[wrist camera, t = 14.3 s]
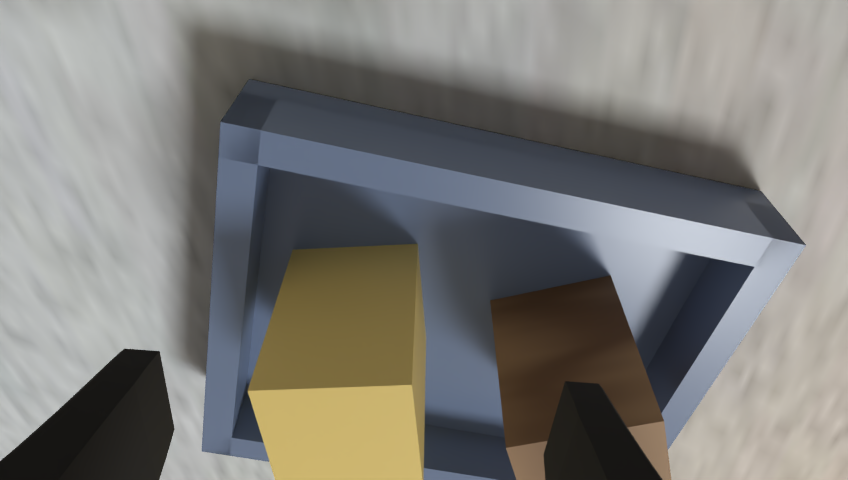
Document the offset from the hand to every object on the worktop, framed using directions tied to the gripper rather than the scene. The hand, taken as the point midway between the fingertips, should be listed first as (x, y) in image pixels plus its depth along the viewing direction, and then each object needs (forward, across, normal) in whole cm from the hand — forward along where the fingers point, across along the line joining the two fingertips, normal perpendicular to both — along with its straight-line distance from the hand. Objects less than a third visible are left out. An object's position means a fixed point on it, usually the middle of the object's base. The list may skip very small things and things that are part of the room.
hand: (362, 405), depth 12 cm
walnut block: (+9, -6, +6) cm, 12 cm away
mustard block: (+9, +1, +5) cm, 10 cm away
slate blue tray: (+10, -3, +5) cm, 12 cm away
